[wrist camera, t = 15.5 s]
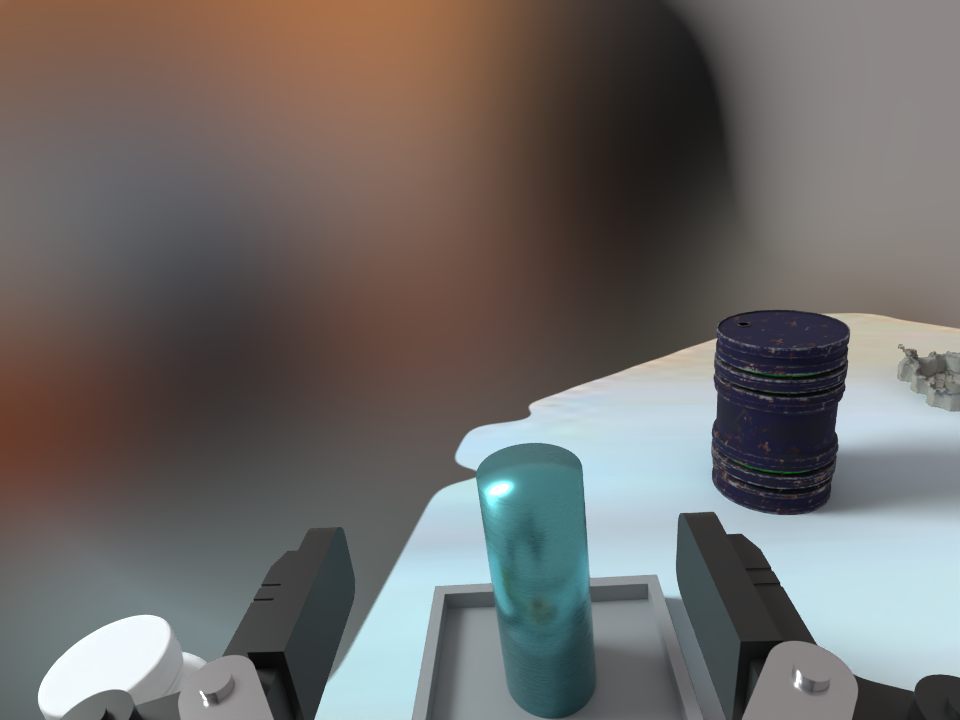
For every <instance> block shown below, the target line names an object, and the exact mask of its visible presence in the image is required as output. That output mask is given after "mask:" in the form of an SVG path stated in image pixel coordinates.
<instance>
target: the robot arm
mask: <svg viewBox="0 0 960 720" xmlns="http://www.w3.org/2000/svg"><path fill="white" fill-rule="evenodd" d="M676 574H677V581H678V586H679V590H680V594H681V597H682V599H683V602H684V605H685V607H686V610H687V613H688V616H689V618H690V621H691V624H692V627H693V629H694V632H695V635H696V638H697V640H698V643H699V646H700V649H701V651H702V654H703V657H704V659H705V662H706V665H707V668H708V670H709V673H710V676H711V679H712V681H713V684H714V687H715V690H716V692H717V695H718V698H719V700H720V703H721V706H722V709H723V711H724V714H725V717H726V720H960V678H959V677H955V676H950V675H941V674H940V675H930V676H926V677H924V678H922V679H921V680H920V681H919V682H918V683H917V685H916V687H915V690H914V692H913V691H909V690H905V689H901V688H897V687H892V686H888V685H884V684H880V683H876V682H872V681H869V680H866V679H863V678H860V677H858V676H856V675H854V674H853V673H852V672H851V670H850V669H849V668H848V666H847V665H846V664H845V663H844V662H843V661H842V660H841V659H839V658H838V657H837V656H835V655H834V654H833V653H831V652H829V651H828V650H826V649H824V648H822V647H820V646H818V645H817V644H816V642H815V641H814V639H813V637H812V636H811V634H810V632H809V630H808V629H807V627H806V625H805V624H804V622H803V620H802V619H801V617H800V615H799V614H798V612H797V610H796V609H795V607H794V605H793V604H792V602H791V600H790V598H789V597H788V595H787V593H786V592H785V590H784V588H783V587H781V585H780V582H779V580H778V578H777V577H776V575H775V573H774V572H773V571H772V570H771V566H770V565H769V563H768V561H767V560H766V558H765V556H764V555H763V553H762V551H761V550H760V549H759V548H758V547H757V546H756V545H754V544H753V543H752V542H751V541H750V540H748V539H747V538H746V537H745V536H743V535H742V534H726V532H725V530H724V528H723V526H722V525H721V523H720V521H719V519H718V517H717V515H716V514H715V513H714V512H699V513H681V514H680V515H679V518H678V535H677V555H676ZM354 594H355V578H354V572H353V568H352V564H351V559H350V554H349V550H348V546H347V541H346V537H345V533H344V530H343V529H342V528H341V527H332V528H312V529H310V530H309V531H308V532H307V534H306V536H305V538H304V540H303V542H302V544H301V546H300V548H299V550H298V551H287V552H286V553H285V554H284V555H283V556H282V557H281V558H280V559H279V560H278V561H277V562H276V563H275V564H274V565H273V566H272V567H271V568H270V570H269V572H268V574H267V575H266V577H265V579H264V581H263V583H262V587H261V588H260V589H259V590H258V592H257V594H256V596H255V598H254V602H253V603H251V605H250V607H249V609H248V610H247V612H246V614H245V616H244V618H243V619H242V621H241V623H240V625H239V627H238V629H237V630H236V632H235V634H234V636H233V638H232V640H231V642H230V643H229V645H228V647H227V649H226V651H225V652H224V654H223V656H222V657H221V658H218V659H215V660H213V661H211V662H209V663H208V664H206V665H204V666H203V667H201V668H200V669H199V670H198V671H196V672H195V673H194V674H193V675H192V676H191V677H190V678H189V679H188V681H187V682H186V684H185V685H184V687H183V688H182V690H181V691H180V692H177V693H174V694H171V695H168V696H165V697H161V698H158V699H155V700H152V701H148V702H145V703H142V704H139V705H135V703H134V701H133V699H132V697H131V695H130V694H129V693H128V692H126V691H124V690H119V689H112V690H106V691H103V692H99V693H97V694H94V695H92V696H90V697H88V698H86V699H84V700H83V701H81V702H80V703H78V704H77V705H75V706H74V707H73V708H71V709H70V710H69V711H68V712H67V713H66V714H64V715H63V717H62V718H61V719H60V720H314V719H315V716H316V713H317V710H318V707H319V704H320V701H321V698H322V695H323V692H324V689H325V685H326V682H327V679H328V676H329V673H330V670H331V667H332V664H333V661H334V658H335V655H336V652H337V649H338V646H339V643H340V640H341V637H342V634H343V631H344V628H345V625H346V622H347V619H348V616H349V613H350V610H351V607H352V604H353V600H354Z"/></svg>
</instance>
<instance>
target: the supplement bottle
mask: <svg viewBox="0 0 960 720" xmlns="http://www.w3.org/2000/svg"><path fill="white" fill-rule="evenodd" d="M206 664H208V663H206V662H205V661H204V660H202V659H201V658H199V657H197V656H195V655H192V654H189V653H185V652H182V649H181V646H180V644H179V642H178V641H177V639H176V637H175V635H174V633H173V630H172V628H171V627H170V625H169V624H168V623H167V621H165V620H164V619H162V618H160V617H158V616H152V615H140V616H133V617H129V618H125V619H122V620H119V621H116V622H114V623H111V624H109V625H107V626H104V627H102V628H100V629H98V630H97V631H95V632H93V633H92V634H90V635H88V636H87V637H85V638H84V639H82V640H81V641H79V642H78V643H76V644H75V645H74V646H73V647H71V648H70V649H69V650H68V651H67V652H66V653H65V654H63V656H61V657H60V658H59V659H58V660H57V662H56V663H55V664H54V665H53V666H52V667H51V669H50V670H49V672H48V673H47V675H46V676H45V678H44V680H43V682H42V684H41V686H40V689H39V693H38V702H39V707H40V709H41V711H42V713H43V715H44V717H45V719H46V720H60V719H61V718H62V717H63V715H64V714H66V713H67V712H68V711H69V710H70V709H71V708H73V707H74V706H75V705H77V704H78V703H80V702H81V701H83V700H84V699H86V698H88V697H90V696H92V695H94V694H97V693H99V692H103V691H106V690H112V689H119V690H124V691H126V692H128V693H129V694H130V695H131V697H132V699H133V701H134V703H135V705H139V704H142V703H145V702H148V701H152V700H155V699H158V698H161V697H165V696H168V695H171V694H174V693H177V692H180V691H181V690H182V688H183V687H184V685H185V684H186V682H187V681H188V679H189V678H190V677H191V676H192V675H193V674H194V673H195V672H196V671H198V670H199V669H200V668H201V667H203V666H204V665H206Z"/></svg>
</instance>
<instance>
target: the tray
mask: <svg viewBox="0 0 960 720" xmlns="http://www.w3.org/2000/svg"><path fill="white" fill-rule="evenodd" d="M590 589H591V604H592V619H593V633H594V648H595V663H596V678H597V681H596V688H595V691H594V694H593V696H592V698H591V699H590V701H589V702H588V703H587V704H586V705H585V706H584V707H583V708H582V709H581V710H579V711H578V712H576V713H574V714H572V715H569V716H567V717H563V718H555V719H548V718H541V717H538V716H534V715H532V714H530V713H528V712H526V711H525V710H523V709H522V708H521V707H519V706H518V705H517V703H516V702H515V701H514V700H513V698H512V697H511V695H510V693H509V690H508V687H507V683H506V676H505V669H504V662H503V656H502V649H501V642H500V635H499V628H498V622H497V615H496V608H495V601H494V595H493V588H492V583H489V584H471V585H452V586H435V591H434V596H433V602H432V608H431V613H430V619H429V625H428V630H427V636H426V642H425V647H424V653H423V659H422V664H421V670H420V676H419V681H418V687H417V693H416V698H415V704H414V710H413V715H412V720H704V719H703V716H702V713H701V710H700V707H699V704H698V701H697V697H696V694H695V691H694V688H693V685H692V682H691V679H690V676H689V673H688V670H687V667H686V664H685V660H684V657H683V654H682V651H681V648H680V645H679V642H678V639H677V636H676V633H675V630H674V626H673V623H672V620H671V617H670V614H669V611H668V608H667V605H666V602H665V599H664V596H663V593H662V589H661V586H660V583H659V580H658V577H657V575H640V576H621V577H603V578H590Z"/></svg>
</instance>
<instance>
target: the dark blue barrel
mask: <svg viewBox="0 0 960 720" xmlns="http://www.w3.org/2000/svg"><path fill="white" fill-rule="evenodd" d="M849 338H850V328H849V327H848V326H847V325H846V324H845V323H843V322H842V321H840V320H838V319H835V318H832V317H829V316H826V315H822V314H817V313H812V312H805V311H795V310H760V311H750V312H744V313H740V314H735V315H732V316H729V317H727V318H725V319H723V320H721V321H720V322H719V324H718V325H717V339H718V340H717V343H716V352H715V359H714V367H715V374H714V382H715V388H716V390H717V392H718V395H717V419H716V420H715V422H714V424H713V429H712V437H713V439H712V451H711V453H712V457H713V470H712V480H713V483H714V485H715V487H716V488H717V490H718V491H719V492H720V493H721V494H722V495H724V496H725V497H726V498H728V499H729V500H731V501H733V502H734V503H736V504H738V505H741V506H743V507H746V508H749V509H752V510H755V511H759V512H763V513H769V514H779V515H795V514H803V513H807V512H811V511H814V510H816V509H818V508H820V507H822V506H823V505H824V504H825V503H826V502H827V501H828V499H829V497H830V492H831V484H830V483H831V481H832V476H833V473H834V471H835V465H836V453H837V451H838V437H837V434H836V432H835V425H836V416H837V408H838V402H839V401H840V400H841V399H842V397H843V392H844V391H845V387H846V386H845V378H846V375H847V368H848V360H847V354H848V347H847V344H848V343H849Z"/></svg>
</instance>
